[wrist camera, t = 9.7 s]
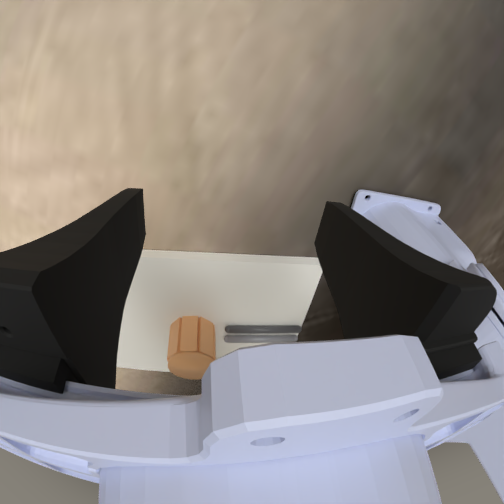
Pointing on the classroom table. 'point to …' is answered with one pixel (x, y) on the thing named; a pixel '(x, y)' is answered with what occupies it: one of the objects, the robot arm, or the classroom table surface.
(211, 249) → the classroom table surface
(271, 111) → the classroom table surface
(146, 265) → the plate
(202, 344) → the wire nut
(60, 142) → the classroom table surface
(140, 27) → the classroom table surface
